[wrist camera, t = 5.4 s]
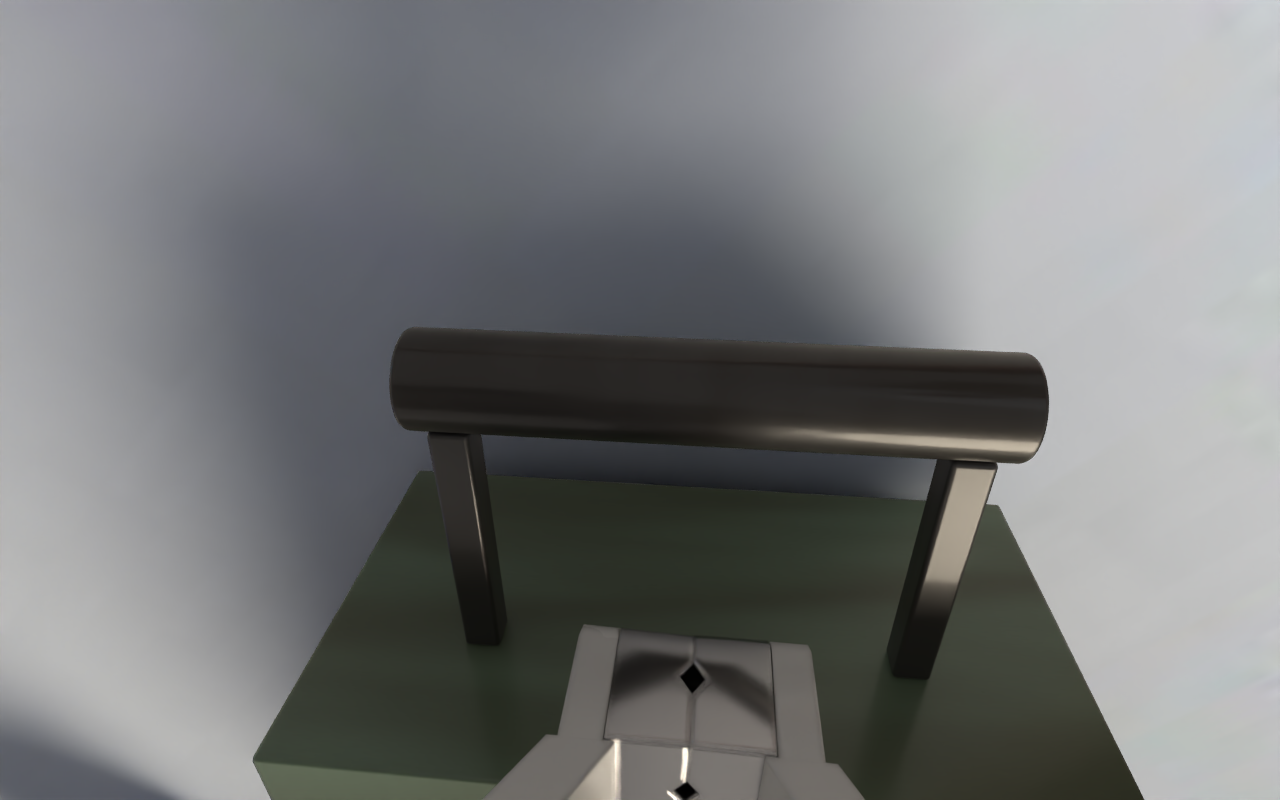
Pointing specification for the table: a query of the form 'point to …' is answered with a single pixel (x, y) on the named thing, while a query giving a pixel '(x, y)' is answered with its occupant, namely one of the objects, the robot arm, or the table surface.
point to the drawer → (700, 569)
